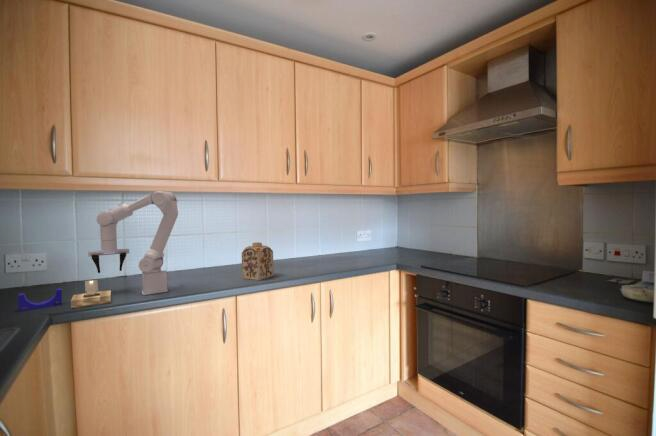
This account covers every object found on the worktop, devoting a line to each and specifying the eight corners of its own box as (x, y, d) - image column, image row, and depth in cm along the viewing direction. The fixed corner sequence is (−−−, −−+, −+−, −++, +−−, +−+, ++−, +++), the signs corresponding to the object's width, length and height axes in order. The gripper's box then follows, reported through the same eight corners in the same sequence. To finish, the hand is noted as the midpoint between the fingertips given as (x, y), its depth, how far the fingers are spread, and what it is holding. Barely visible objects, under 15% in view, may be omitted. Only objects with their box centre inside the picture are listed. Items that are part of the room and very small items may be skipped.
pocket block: (110, 297, 134) (110, 290, 134) (110, 303, 126) (110, 295, 126) (73, 302, 128) (73, 294, 128) (71, 308, 119) (70, 300, 119)
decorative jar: (241, 278, 166) (240, 243, 165) (256, 274, 176) (255, 241, 175) (260, 281, 160) (259, 244, 160) (274, 276, 170) (273, 241, 170)
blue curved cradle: (62, 302, 128) (61, 287, 128) (62, 305, 125) (61, 289, 125) (20, 309, 121) (19, 293, 121) (19, 312, 117) (18, 295, 117)
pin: (99, 299, 130) (98, 279, 130) (98, 301, 126) (97, 281, 126) (86, 301, 128) (85, 280, 127) (85, 303, 124) (84, 282, 124)
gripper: (128, 238, 148) (129, 268, 148) (88, 240, 140) (89, 272, 140) (128, 239, 142) (130, 270, 142) (87, 241, 134) (88, 274, 134)
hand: (110, 271), depth 141 cm, fingers open, 7 cm apart
